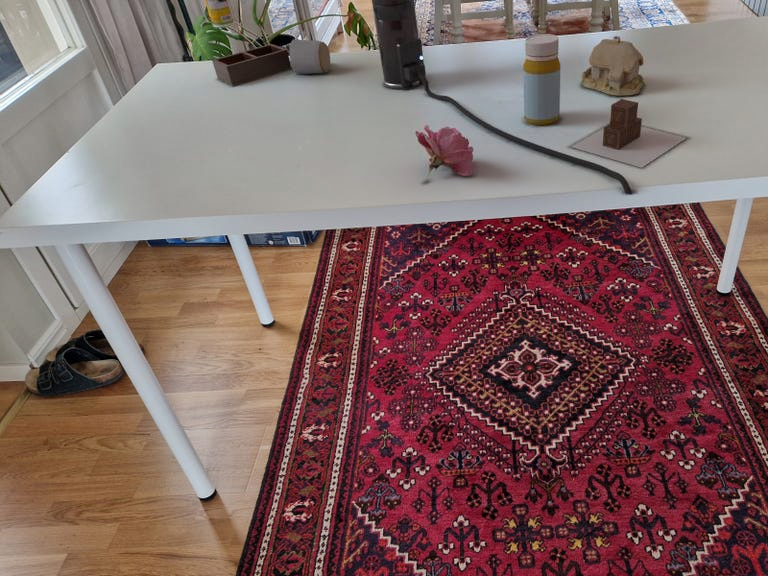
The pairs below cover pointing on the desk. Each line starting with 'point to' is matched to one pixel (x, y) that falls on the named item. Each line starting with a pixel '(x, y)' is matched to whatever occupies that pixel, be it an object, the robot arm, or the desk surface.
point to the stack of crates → (628, 138)
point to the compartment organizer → (252, 64)
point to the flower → (447, 149)
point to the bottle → (541, 79)
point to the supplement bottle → (220, 13)
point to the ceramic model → (614, 68)
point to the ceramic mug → (309, 56)
